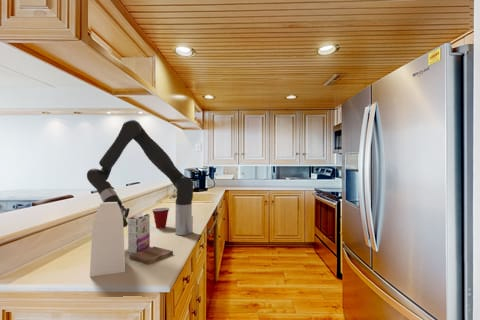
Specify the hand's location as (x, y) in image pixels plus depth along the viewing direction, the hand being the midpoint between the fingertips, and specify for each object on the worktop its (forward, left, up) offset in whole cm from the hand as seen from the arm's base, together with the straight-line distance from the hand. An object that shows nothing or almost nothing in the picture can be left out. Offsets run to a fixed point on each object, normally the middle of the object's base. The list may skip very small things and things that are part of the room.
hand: (125, 226), depth 135 cm
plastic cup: (-36, -14, -10) cm, 40 cm away
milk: (+21, +18, -10) cm, 30 cm away
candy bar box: (0, +10, -10) cm, 14 cm away
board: (+3, +22, -10) cm, 24 cm away
